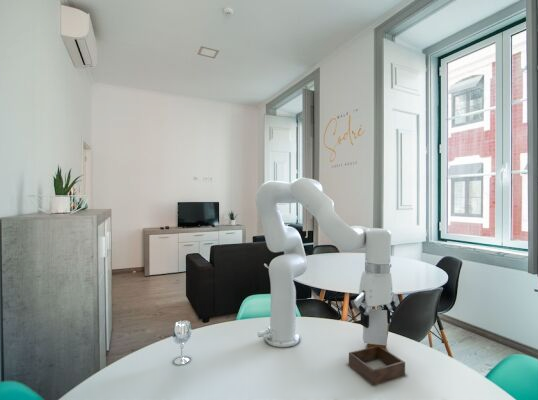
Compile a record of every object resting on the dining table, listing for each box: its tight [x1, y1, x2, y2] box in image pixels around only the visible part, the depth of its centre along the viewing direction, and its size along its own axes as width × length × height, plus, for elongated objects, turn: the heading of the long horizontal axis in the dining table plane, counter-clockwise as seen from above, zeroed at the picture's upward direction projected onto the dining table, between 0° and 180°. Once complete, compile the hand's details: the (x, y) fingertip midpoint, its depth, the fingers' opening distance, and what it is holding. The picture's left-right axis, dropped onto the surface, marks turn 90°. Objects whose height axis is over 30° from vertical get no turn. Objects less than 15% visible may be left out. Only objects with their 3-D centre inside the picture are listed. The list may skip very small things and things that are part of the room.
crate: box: [348, 346, 406, 386], centre depth 92 cm, size 12×11×4 cm
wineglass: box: [172, 320, 193, 366], centre depth 95 cm, size 6×6×12 cm
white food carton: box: [362, 308, 388, 346], centre depth 93 cm, size 4×7×10 cm, turn 83°
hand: (375, 323), depth 93 cm, fingers closed on white food carton, 7 cm apart
